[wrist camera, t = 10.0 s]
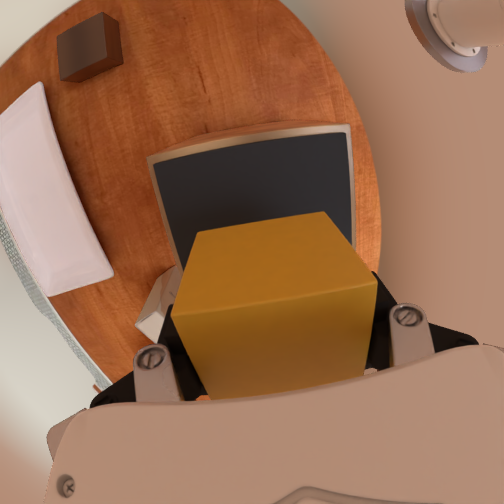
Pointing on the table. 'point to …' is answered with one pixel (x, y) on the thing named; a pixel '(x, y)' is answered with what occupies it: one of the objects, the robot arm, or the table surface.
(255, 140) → the block
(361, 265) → the top block
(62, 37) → the base block
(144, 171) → the table surface
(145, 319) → the box
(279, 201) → the mat
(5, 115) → the tray
